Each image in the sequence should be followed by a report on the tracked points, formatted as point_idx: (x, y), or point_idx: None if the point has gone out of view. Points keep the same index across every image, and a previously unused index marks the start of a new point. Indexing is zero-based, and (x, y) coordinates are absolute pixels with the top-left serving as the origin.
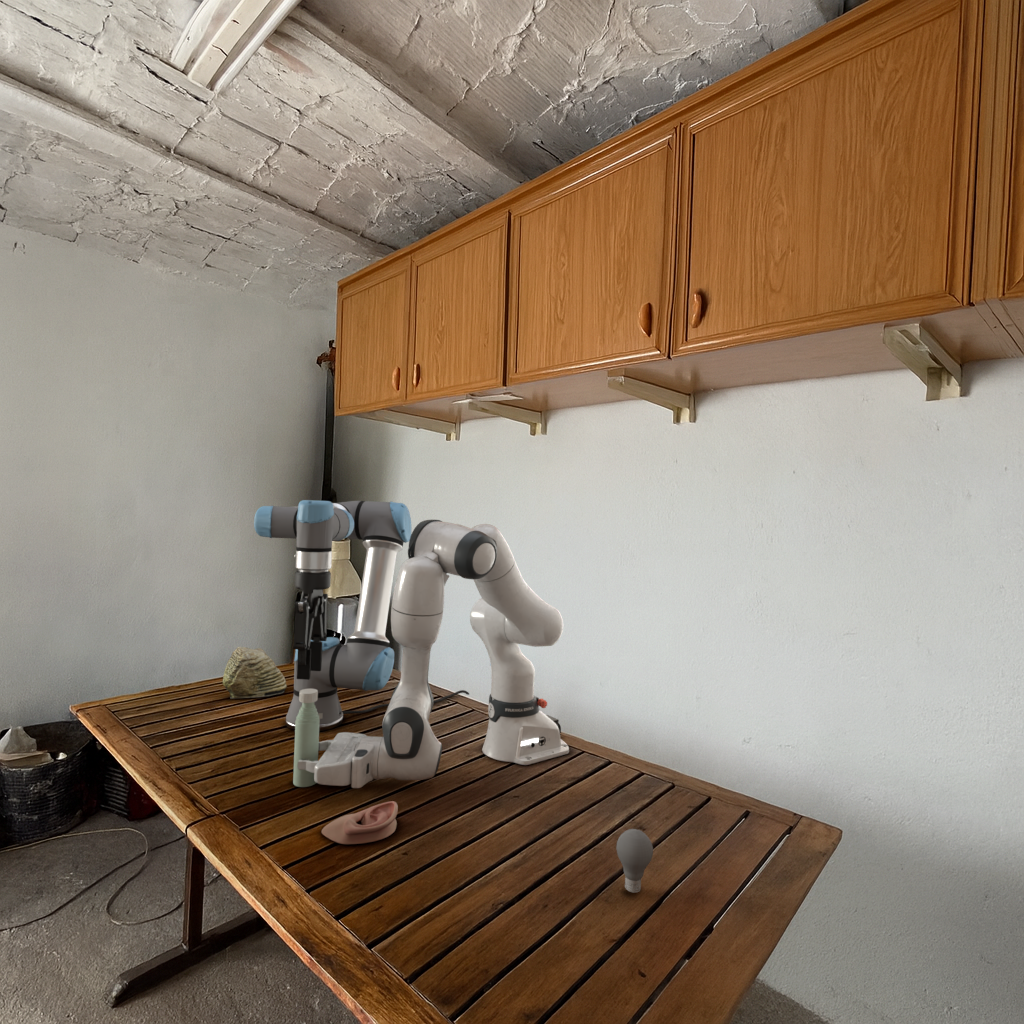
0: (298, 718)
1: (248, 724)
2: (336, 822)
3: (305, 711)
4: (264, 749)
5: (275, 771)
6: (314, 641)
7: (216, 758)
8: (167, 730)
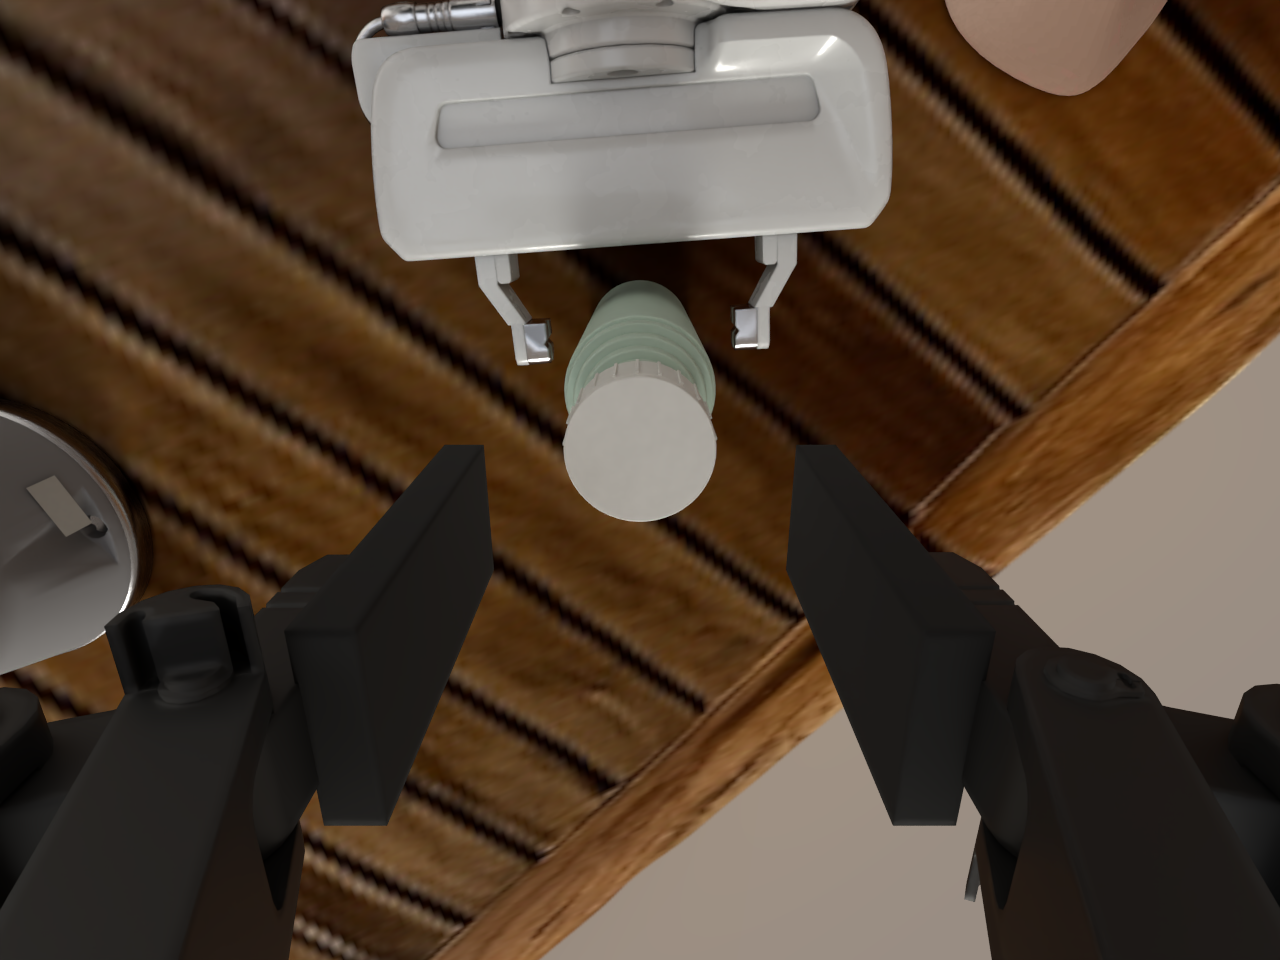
0: None
1: None
2: (1091, 22)
3: None
4: None
5: (563, 484)
6: (319, 765)
7: (499, 720)
8: (321, 949)
